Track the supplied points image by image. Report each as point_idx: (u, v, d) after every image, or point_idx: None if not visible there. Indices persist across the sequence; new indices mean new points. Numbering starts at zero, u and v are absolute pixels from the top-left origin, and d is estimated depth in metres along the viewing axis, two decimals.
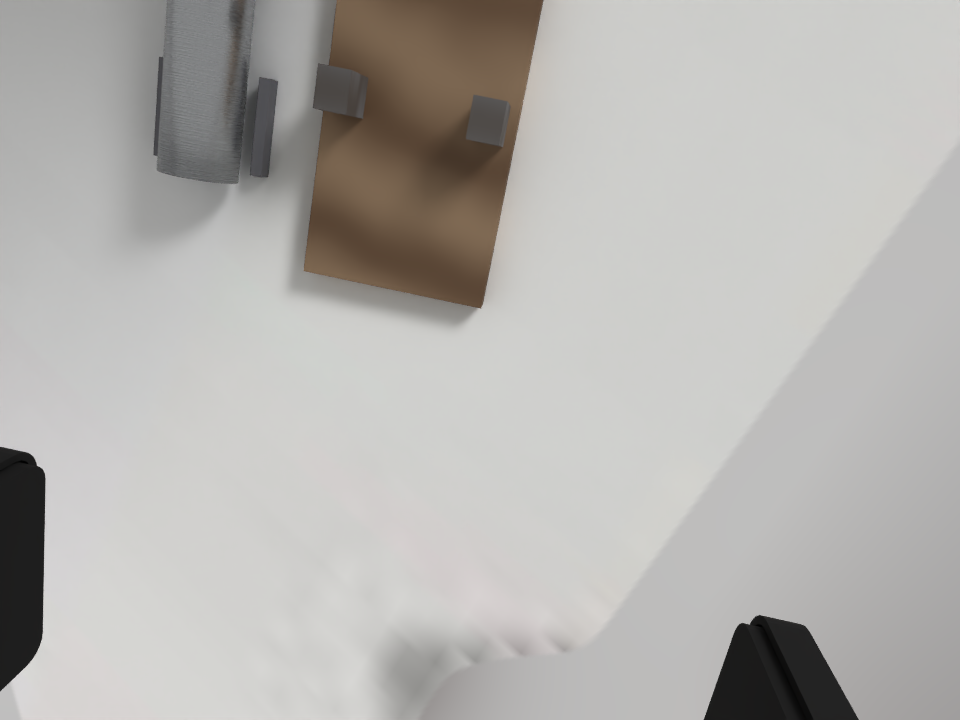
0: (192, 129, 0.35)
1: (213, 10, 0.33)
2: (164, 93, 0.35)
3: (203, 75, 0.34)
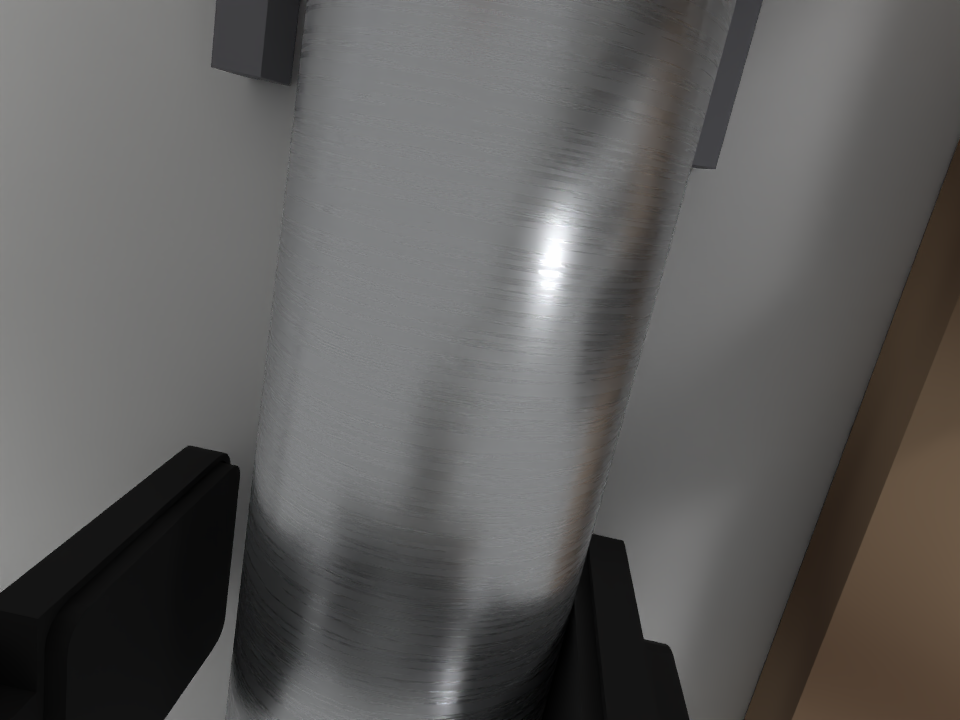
0: None
1: None
2: None
3: None
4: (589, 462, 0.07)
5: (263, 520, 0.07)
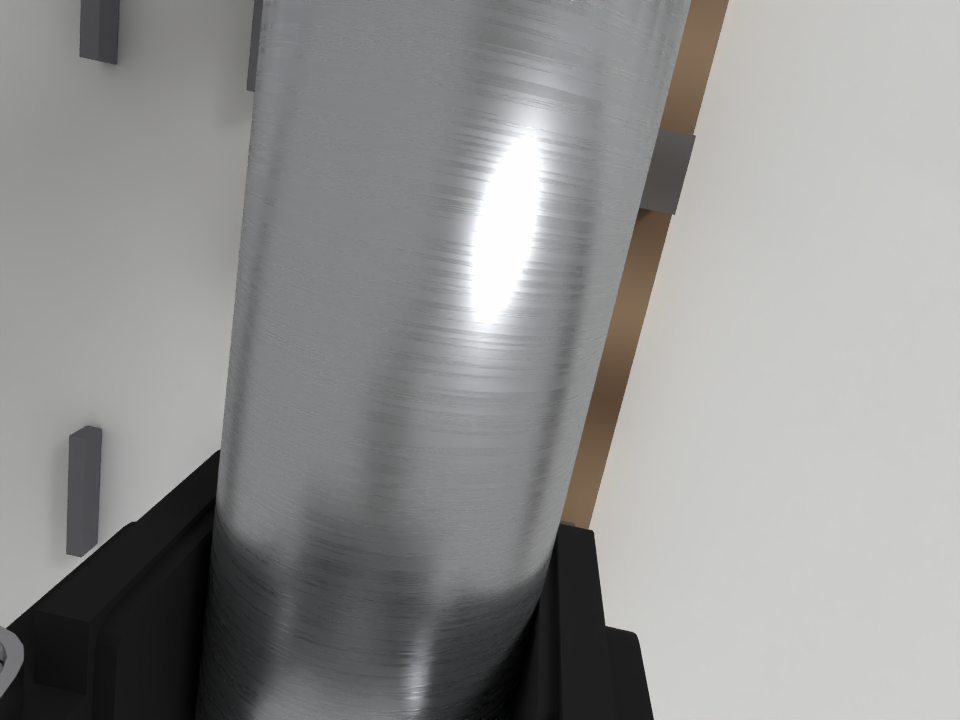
0: None
1: None
2: None
3: None
4: (536, 461, 0.07)
5: (221, 507, 0.07)
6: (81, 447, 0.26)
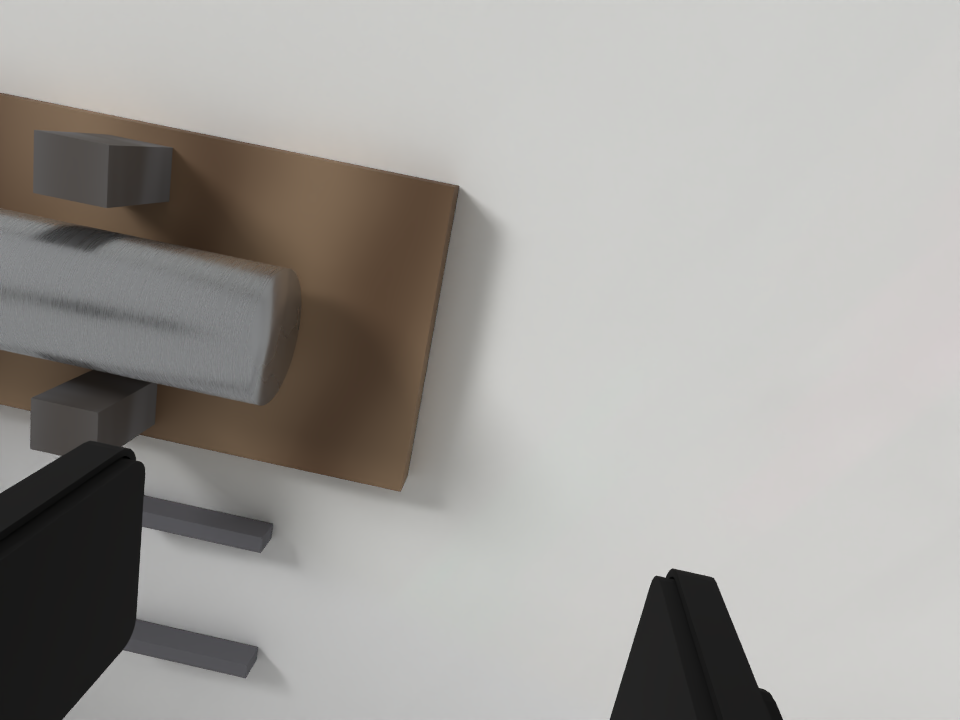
0: (164, 309, 0.18)
1: None
2: (113, 360, 0.19)
3: (72, 277, 0.18)
4: None
5: None
6: None
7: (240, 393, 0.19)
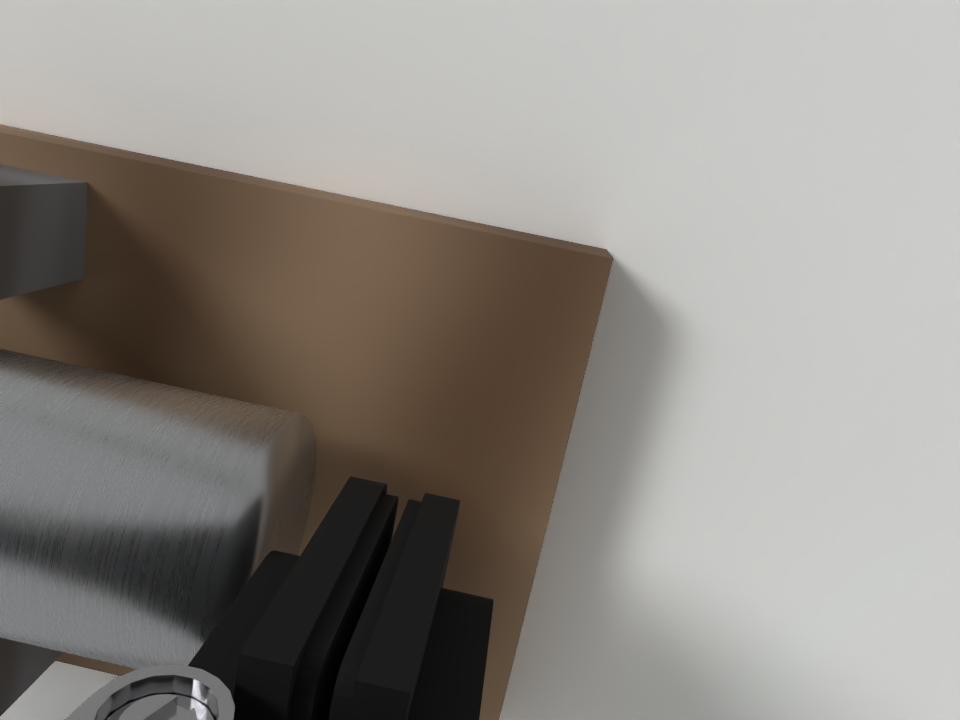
0: (32, 529, 0.09)
1: None
2: None
3: None
4: None
5: None
6: None
7: None
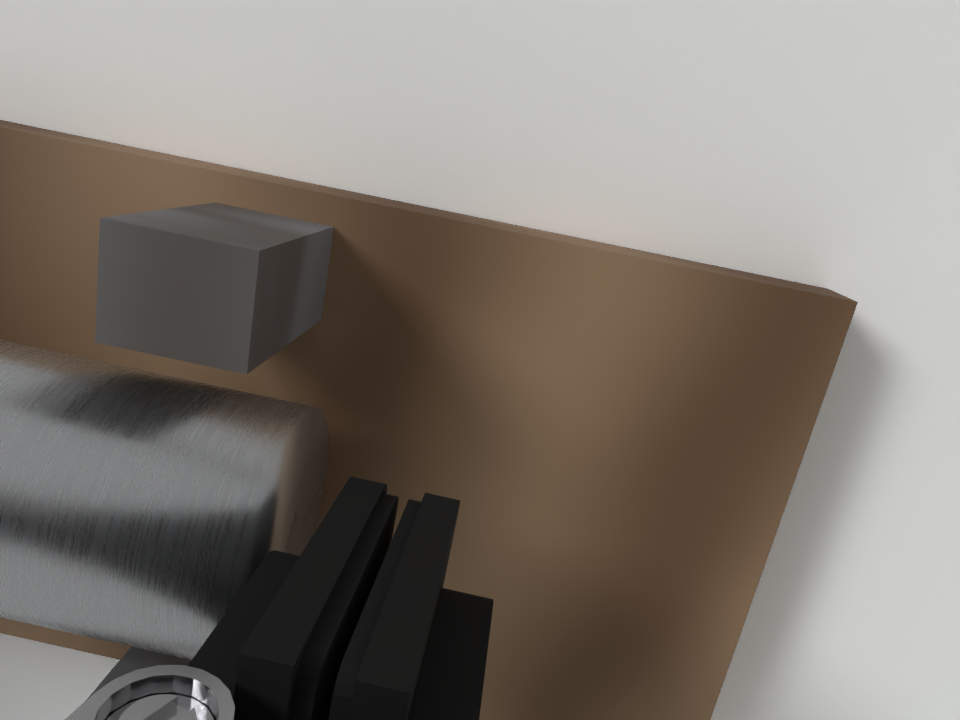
0: (63, 517, 0.09)
1: None
2: None
3: None
4: None
5: None
6: None
7: None
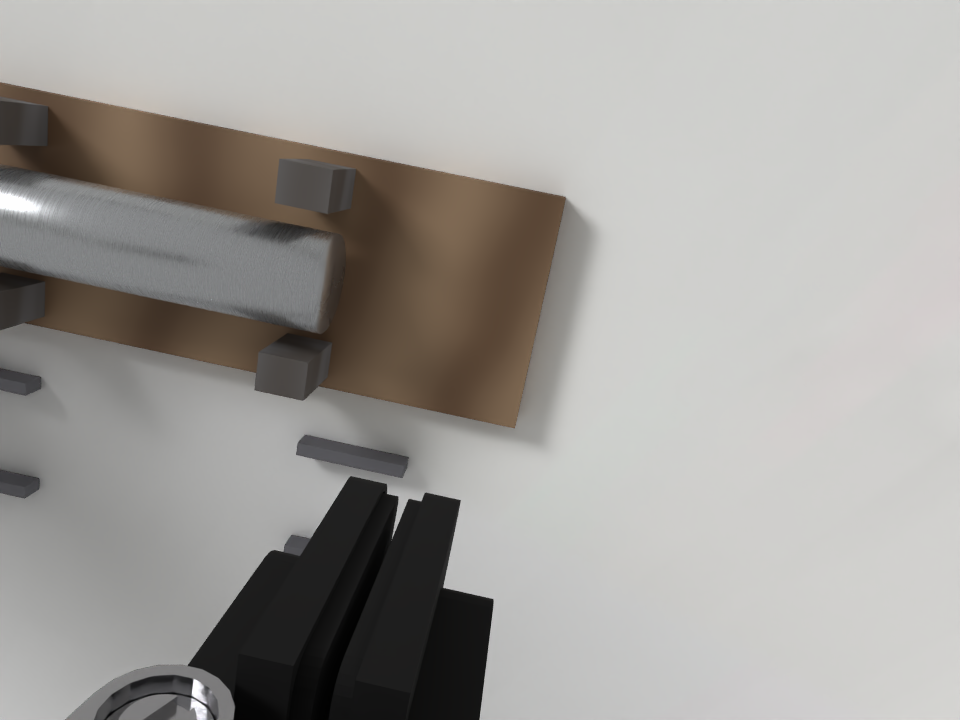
0: (255, 258, 0.26)
1: (115, 215, 0.26)
2: (215, 297, 0.27)
3: (189, 236, 0.26)
4: None
5: None
6: (292, 549, 0.34)
7: (306, 321, 0.27)
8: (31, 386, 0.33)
